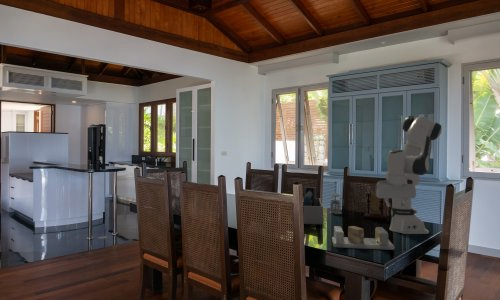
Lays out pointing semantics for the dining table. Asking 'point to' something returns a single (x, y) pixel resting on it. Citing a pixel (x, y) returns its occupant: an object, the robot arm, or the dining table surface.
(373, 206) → the scroll
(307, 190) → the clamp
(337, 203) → the french press
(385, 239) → the block
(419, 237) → the dining table surface
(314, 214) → the tool tote
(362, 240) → the maple block
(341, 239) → the vise base
